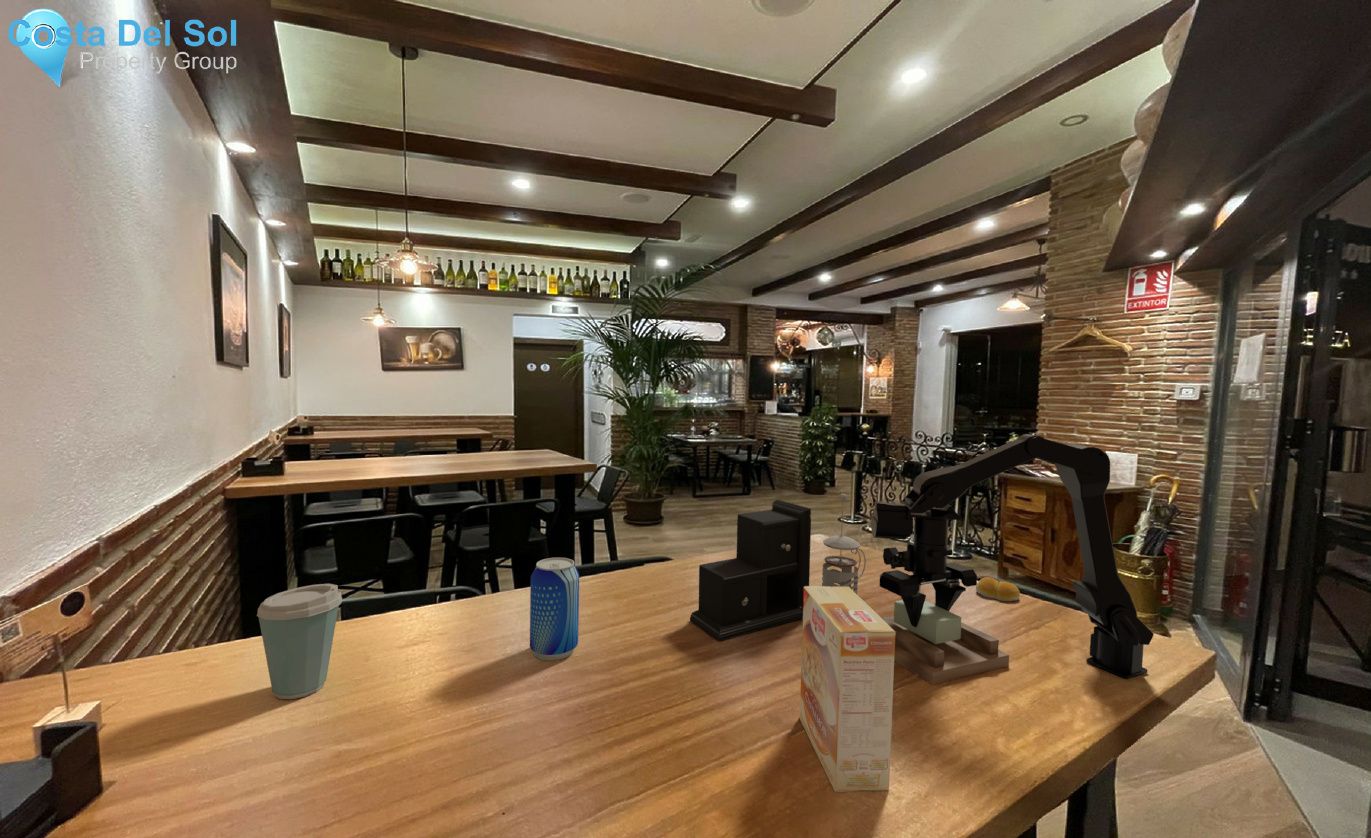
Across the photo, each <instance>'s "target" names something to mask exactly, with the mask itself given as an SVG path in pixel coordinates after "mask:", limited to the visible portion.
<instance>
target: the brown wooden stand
mask: <svg viewBox="0 0 1371 838" xmlns="http://www.w3.org/2000/svg"><path fill="white" fill-rule="evenodd" d="M880 617H881V618H882V619H883V620H884V621H885V622H886V623H887V624H888V625H889V626H890V627H891V628H892V629H893V630H894V631H895V632H896V635H895V653H894V662H896V663H897V662H898V664H899V665H900V666H902V667H903V668H905V669H907V670H909V671H910V672H912V673H913V674H915V675H916V676H918V677H919V678H921V679H923V680H924V681H926V682H928V683H929V684H930V685H936V684H941V683H946V682H949V681H953V680H958V679H961V678H966V677H969V676H973V675H977V674H982V673H986V672H989V671H994V670H998V669H1003V668H1005V667H1009V665H1010V654H1009V653H1006V652H1004V651H1002V650H1000V649H999V643H1000V639H998V638H996V637H994V636H991V635H990V634H987V633H986V632H983V631H981V630H978V629H977V628H974V627H972V626H970V625H968V624H967V623H964V622H962V621H961V638H960V639H958V640H953V641H949V642H944V643H939V644H934V643H933V642H931V641H929V640H927V639H925V638H923V637H921V636H920V635H918V634H916V633H914V632H912V631H910V630H908V629H907V628H905V627H903V626H901V625H899V624H897V623H895V622H894V615H891V616H887V617H882V616H880Z"/></svg>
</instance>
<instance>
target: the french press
mask: <svg viewBox="0 0 1371 838" xmlns="http://www.w3.org/2000/svg"><path fill="white" fill-rule="evenodd" d="M838 499H839V500H842V501H841V502H842V503H841V507H842V508H841V526H840V527H841V531H840V532H841V534H840V535H831V536H829V537H827V538H825V539H823V541H822V542H823V545H824V546H826V547H827V548H831V549H835V550H839V551H840V555H830V556H829V555H828V556H825V558H824V562H825V563H823V564H822V571H821V572H822V573H821V574H822V578H821V581H822V583H821V586H830V587H850V588H851V589H852V590H853V591H854V592H855V593H856V594H857V595H858V588H859V587H858V582H859V581H858V580H859V579H860V578H861V577H862V576H863V574H864V572H865V570H866V563H867V561H866V555H865V552H864V551H863V550H862V549H860V546H861V544H860V543H859V542H858V541H856V539H854V538H851V537H849V536H847V535H843V521H844V520H843V519H844V500H848V496H847V494H845V493H841V494H839V495H838ZM853 550H855V552H853ZM842 551H850V553H852V554H853V555H857V553H858V557H859V559H858V562H859V563H858V562H857V560H855V559H854V558H852V557H847V556H842ZM860 552H861V553H862V555H863V559H864V563H863V564H864V565H863V569H862V572H861V574H860V575H859V570H860V567H861V554H860ZM857 564H858V567H857V566H856V565H857ZM831 567H836V568H839V569H841V570H839V569H835V568H831ZM828 568H831V569H828ZM853 568H854V569H853ZM852 579H853V580H852Z"/></svg>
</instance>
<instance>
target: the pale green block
mask: <svg viewBox="0 0 1371 838" xmlns="http://www.w3.org/2000/svg"><path fill="white" fill-rule="evenodd" d="M893 616H894V622H895V623H897V624H899V625H901V626H903V627H905V628H907V629H908V630H910V631H912V632H914V633H916V634H918V635H920V636H921V637H923V638H925V639H927V640H929V641H931V642H933V643H934V644H939V643H944V642H949V641H953V640H958V639H960V638H961V622H962V616H960V615H958V614H955V613H953V612H951V611H950V610H949V611H947V610H945V609H942V608H940V607H938V606H936V605H935V604H933V603H932V602H929V601H927V600H925V602H924V605H923V609H922V613H921V616H920V620H919V622H918V625H917V627H914V626H912V625H911V623H910V620H909V617H908V614H907V611H906V608H905V605H904V602H903V600H902V599H900V600H896V601H894V607H893Z"/></svg>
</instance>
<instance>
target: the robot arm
mask: <svg viewBox="0 0 1371 838" xmlns="http://www.w3.org/2000/svg"><path fill="white" fill-rule="evenodd" d="M1035 459H1037V460H1039V461H1042V462H1046V463H1049V464H1052V465H1054V467H1055V468H1056V471H1057V474H1058V477H1059V479H1060V481H1061V482H1062V484H1063V485H1064V487H1065V488H1066V490H1067V492H1068V493H1069V495H1070V497H1071V503H1072V508H1073V513H1074V519H1075V520H1074V521H1075V526H1076V530H1077V531H1076V532H1077V536H1078V542H1079V548H1080V552H1081V559H1082V560H1081V561H1082V564H1083V571H1084V572H1083V575H1082V578H1081V580H1080V581H1079V580H1077V581H1075V580H1073V581H1072V586H1073V589H1074V591H1075V600H1074V602H1075V603H1077V604H1078V605H1079V606H1080V608H1081V610H1082V611H1083V612H1084V613H1086V614H1087V616H1088V619H1089V621H1090V623H1091V624H1094V625H1095V626H1093V633H1091V634H1090V643H1089V657H1087V658H1086V659H1085V661H1086V662H1087V663H1089V664H1091V665H1094V666H1096V667H1098V668H1100V669H1103V670H1105V671H1107V672H1108V673H1109V672H1110V673H1112V674H1113V675H1116V676H1118V677H1120V678H1123V679H1130V678H1133V677H1137V676H1140V675H1144V674H1147V673H1148V668H1145V667H1143V662H1144V661H1143V657H1144V646H1149V645H1150V644H1151V641H1152V640H1153V637H1154V633H1153V631H1151V630H1150V629H1149V628H1148V626H1147V625H1145V624H1144V623H1143V622H1142V621H1141V619H1139V618H1138V612H1137V608H1136V606H1135V603H1134V601H1133V599H1132V596H1131V594H1130V592H1129V590H1128V589H1127V587H1126V586H1125V584H1124V582H1123V581H1122V580H1121V578H1120V576H1119V574H1118V567H1117V562H1116V557H1115V550H1114V546H1113V545H1114V544H1113V540H1112V539H1113V538H1112V534H1111V528H1110V523H1109V522H1110V521H1109V517H1108V510H1107V505H1106V501H1105V495H1106V494H1105V493H1106V491H1107V489H1108V486H1109V484H1110V481H1111V459H1110V457H1109V455H1108V454H1107V453H1106V452H1105V451H1103V450H1102V449H1100V448H1098V447H1094V446H1088V445H1081V444H1076V443H1071V444H1070V443H1069V444H1064V443H1061V442H1057V441H1053V440H1050V439H1046V438H1045V437H1043V436H1041V435H1036V434H1029V433H1025V434H1022V435H1020V436H1018V437H1017V438H1016V439H1013V440H1011V441H1009V442H1007V443H1005V444H1003V445H1000V446H997V447H996V448H993V449H991V450H989V451H987V452H984V453H983V454H980V455H977V456H976V457H973V458H972V459H969V460H966V461H965V462H962V463H960V464H957V465H954V466H948V467H947V466H946V467H941V468H936V469H933V470H930V471H925V472H921V473H920V474H919V475H917V476H916V477H915V478H914V482H913V483H912V488H911V489H910V490H909V492H908V493H907V494H906V495H905V496H904V497H903V499H901V501H900V503H894V502H884V501H879V500H876V501H874V508H873V511H872V515H871V517H870V519H871V520H870V523H871V524H870V525H871V526H870V527H871V535H872V537H873V539H886V540H900V541H902V540H903V541H905V540H907V538H910V537H911V536H912V534H913V542H912V543H911V542H910V543H908V544H907V546H906V550H901V551H898V548H897V547H896V546H892V547H884V548H883V552H882V559H883V563H884V564H885V565H887V566H888V565H889V566H890V569H891V570H888V571H883V572H882V573H881V574H880V575H879V583H878V584H879V585H878V586H879V588H882V589H884V590H886V591H888V592H890V593H893V594H895V595H897V596H899V597H900V598H901V600H903V602H904V605H905V608H906V611H907V614H908V617H909V620H910V623H911V625H912V626H914V627H917V625H918V622H919V620H920V616H921V613H922V609H923V605H924V602H925V601H926V598H927V595H926V594H924V593H921V587H922V585H929V584H931V585H932V587H933V590H934V593H935V594H934V598H935V599H934V600H935V602H934V603H935V604H934V605H936V606H938V607H940V608H942V609H945V610H947V611H949V612H950V610H951V609H952V607H953V606H954V604H955V603H956V602H957V601H958V599H959V598H960V596H961V595H962V594H963V593H964V592H966V591H967V588H968V587H974V586H975V587H976V585H977V583H978V574H977V573H976V571H975V569H974V568H970V567H967V566H964V565H962V564H959V563H956V562H948V563H947V560H948V557H947V556H953V548H949V547H948V538H949V537H948V534H949V533H948V531H949V520H951V521H961V520H962V516H960V515H959V514H958V513H957V511H956V510H955V509H954V507H953V506H952V505H950V504H951V503H953V502H955V501H956V500H957V499H959V498H960V497H962V496H963V495H964V494H965V493H966V492H967V491H968V490H969V489H970V488H971V487H974V486H975V485H977V484H979V483H982V482H984V481H986V480H988V479H991V478H992V477H996V476H997V475H998V476H999V475H1000V474H1002V473H1004V472H1006V471H1009V470H1012V469H1014V468H1016V467H1018V466H1020V465H1022V464H1024V463H1027V462H1029V461H1031V460H1035ZM897 568H903V570H904V571H905V572H903V571H902V570H898V569H897ZM906 572H907V573H906ZM909 573H912V574H909ZM960 580H961V581H960ZM960 583H962V585H963V586H962V585H961V584H960Z"/></svg>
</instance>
